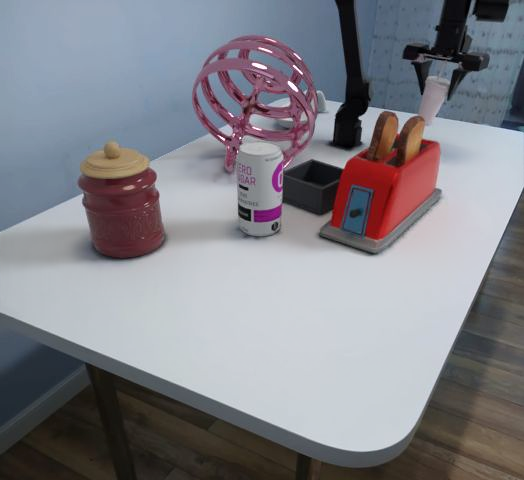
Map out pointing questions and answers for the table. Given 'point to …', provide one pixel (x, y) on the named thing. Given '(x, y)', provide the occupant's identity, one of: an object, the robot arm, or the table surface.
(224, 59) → the spiral basket
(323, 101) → the spoon rest
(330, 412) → the table surface
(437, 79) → the smoothie
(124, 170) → the kitchen canister
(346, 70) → the robot arm
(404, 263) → the table surface
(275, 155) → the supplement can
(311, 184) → the bin
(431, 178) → the toaster
